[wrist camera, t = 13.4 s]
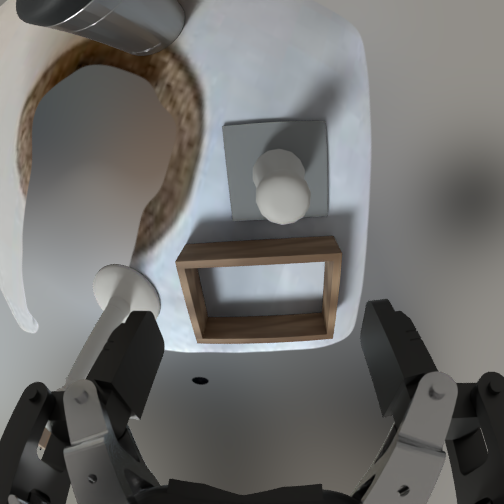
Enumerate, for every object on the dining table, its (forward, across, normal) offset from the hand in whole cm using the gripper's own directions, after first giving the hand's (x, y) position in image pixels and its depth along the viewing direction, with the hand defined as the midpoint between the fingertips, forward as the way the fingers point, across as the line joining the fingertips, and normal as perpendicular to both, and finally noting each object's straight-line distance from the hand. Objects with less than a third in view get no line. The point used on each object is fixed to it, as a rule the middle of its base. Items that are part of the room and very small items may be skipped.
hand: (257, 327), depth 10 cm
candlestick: (+26, +24, +17) cm, 39 cm away
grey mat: (+26, -2, -1) cm, 26 cm away
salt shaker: (+25, -2, -1) cm, 25 cm away
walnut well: (+26, +1, +15) cm, 30 cm away
